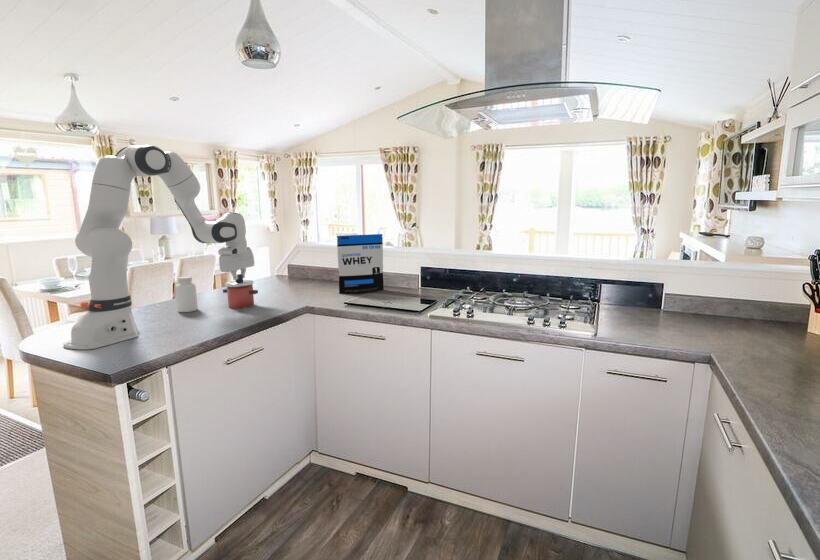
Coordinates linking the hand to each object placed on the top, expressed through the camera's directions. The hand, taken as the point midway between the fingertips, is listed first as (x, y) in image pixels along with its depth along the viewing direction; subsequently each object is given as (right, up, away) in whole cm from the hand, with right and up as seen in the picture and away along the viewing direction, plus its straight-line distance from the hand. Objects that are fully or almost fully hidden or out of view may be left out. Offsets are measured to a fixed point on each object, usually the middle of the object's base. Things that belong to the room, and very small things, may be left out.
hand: (239, 279), depth 197 cm
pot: (0, -12, +2) cm, 13 cm away
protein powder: (+53, -7, +31) cm, 62 cm away
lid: (0, -3, 0) cm, 3 cm away
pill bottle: (-21, -14, -5) cm, 26 cm away
